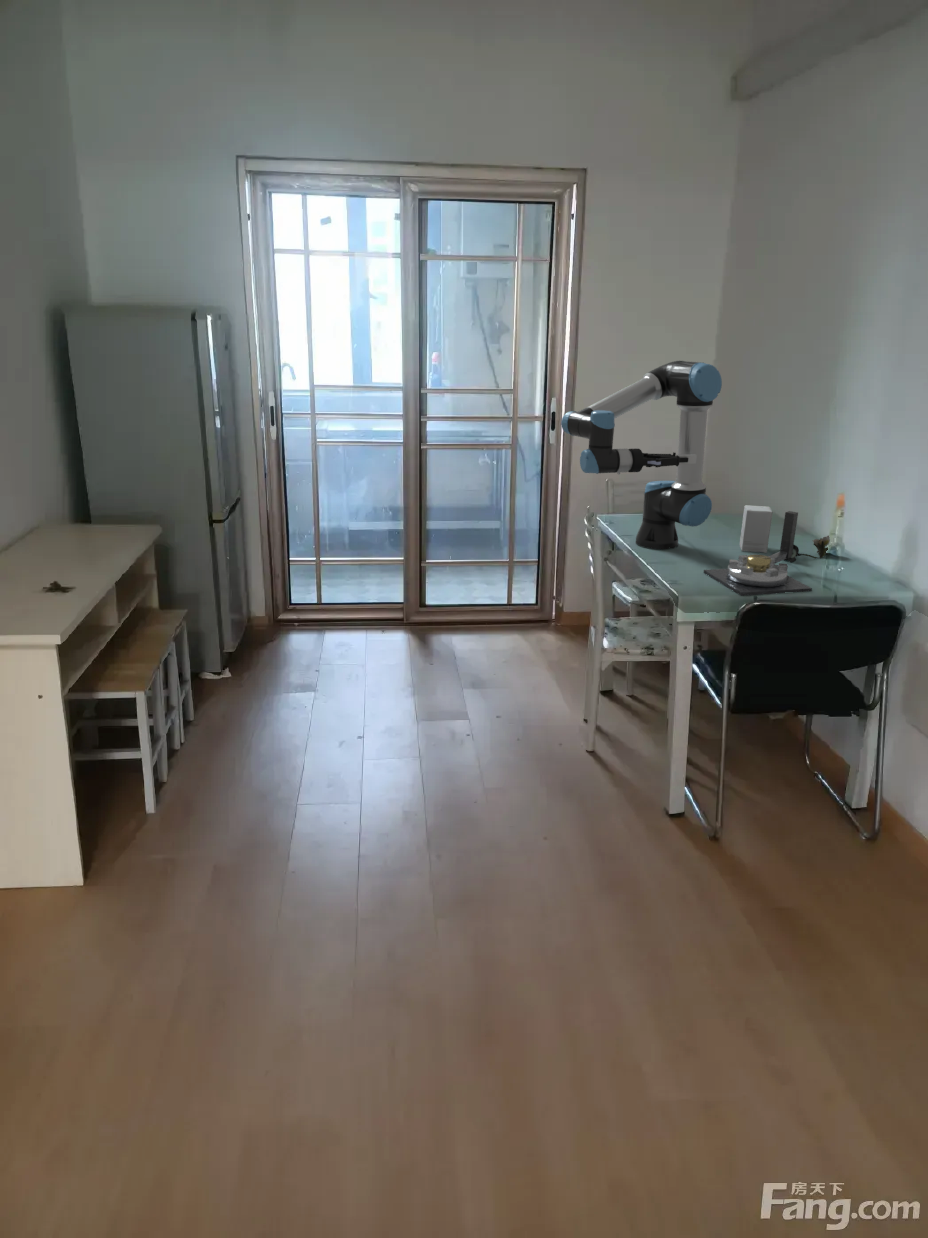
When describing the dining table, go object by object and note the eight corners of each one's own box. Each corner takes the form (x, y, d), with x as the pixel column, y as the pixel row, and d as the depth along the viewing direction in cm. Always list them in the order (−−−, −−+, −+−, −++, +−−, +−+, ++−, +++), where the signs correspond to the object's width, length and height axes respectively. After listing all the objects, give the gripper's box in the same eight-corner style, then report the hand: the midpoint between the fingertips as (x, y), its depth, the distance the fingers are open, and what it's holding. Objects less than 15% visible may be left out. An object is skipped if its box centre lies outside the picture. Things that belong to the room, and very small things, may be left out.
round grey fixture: (770, 590, 270) (778, 532, 263) (716, 577, 281) (723, 522, 275) (812, 570, 290) (820, 516, 284) (760, 559, 302) (767, 507, 296)
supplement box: (767, 553, 314) (773, 511, 309) (741, 551, 316) (746, 510, 311) (764, 546, 323) (770, 506, 317) (739, 544, 324) (744, 504, 319)
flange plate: (703, 572, 290) (706, 549, 288) (769, 569, 296) (772, 545, 293) (740, 595, 268) (744, 570, 266) (811, 591, 274) (815, 566, 271)
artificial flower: (776, 562, 309) (777, 533, 308) (826, 564, 317) (827, 536, 317) (795, 562, 300) (796, 532, 300) (845, 564, 309) (846, 535, 309)
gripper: (619, 468, 292) (685, 466, 297) (635, 476, 280) (703, 474, 285) (621, 445, 289) (687, 444, 295) (637, 452, 278) (706, 450, 283)
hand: (695, 458), depth 290 cm, fingers closed
